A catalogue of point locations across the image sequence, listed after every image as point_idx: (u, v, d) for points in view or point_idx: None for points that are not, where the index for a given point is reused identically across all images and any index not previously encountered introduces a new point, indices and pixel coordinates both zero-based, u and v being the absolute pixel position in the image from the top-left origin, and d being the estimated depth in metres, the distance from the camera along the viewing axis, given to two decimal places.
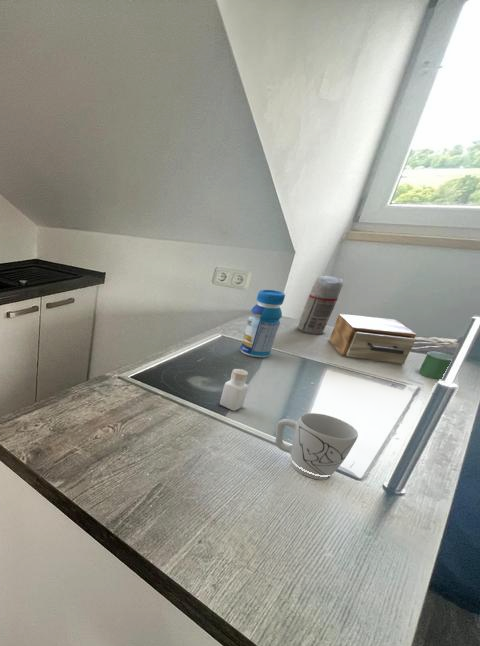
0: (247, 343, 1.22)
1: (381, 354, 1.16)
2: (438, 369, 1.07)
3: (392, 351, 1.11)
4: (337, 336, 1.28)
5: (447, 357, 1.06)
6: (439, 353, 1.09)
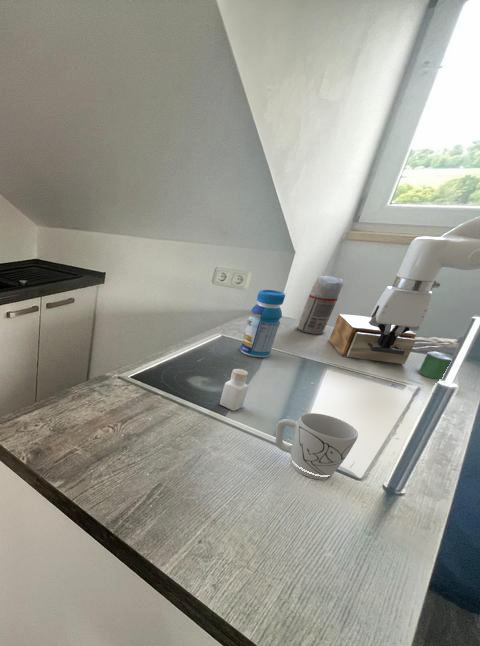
0: (247, 343, 1.22)
1: (382, 354, 1.16)
2: (438, 369, 1.07)
3: (393, 352, 1.11)
4: (337, 336, 1.28)
5: (447, 357, 1.06)
6: (439, 353, 1.09)
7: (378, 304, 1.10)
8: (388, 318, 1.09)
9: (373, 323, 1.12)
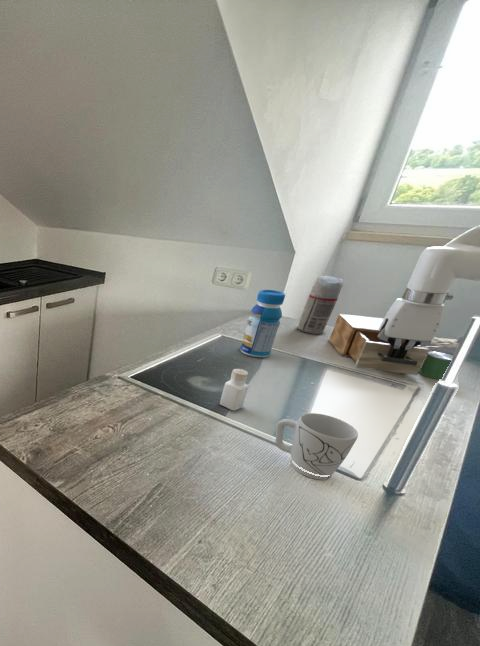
0: (247, 343, 1.22)
1: (392, 365, 1.09)
2: (438, 369, 1.07)
3: (404, 362, 1.04)
4: (337, 336, 1.28)
5: (447, 357, 1.06)
6: (439, 353, 1.09)
7: (387, 317, 1.05)
8: (398, 332, 1.03)
9: (382, 337, 1.06)
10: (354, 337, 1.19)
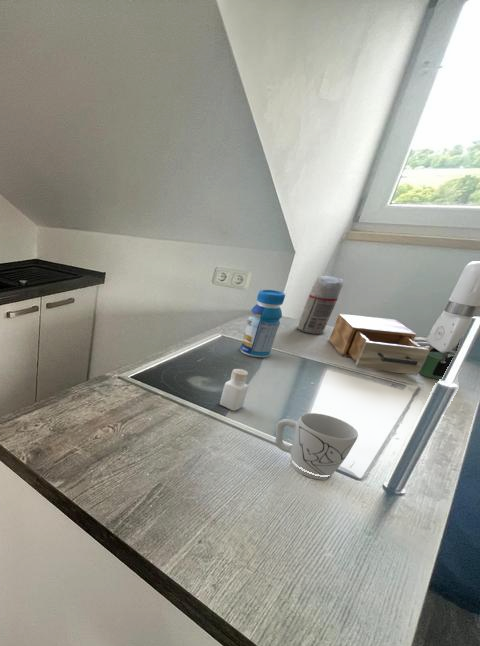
0: (247, 343, 1.22)
1: (392, 365, 1.09)
2: None
3: (405, 362, 1.04)
4: (337, 336, 1.28)
5: None
6: (439, 353, 1.09)
7: None
8: None
9: None
10: (354, 337, 1.19)
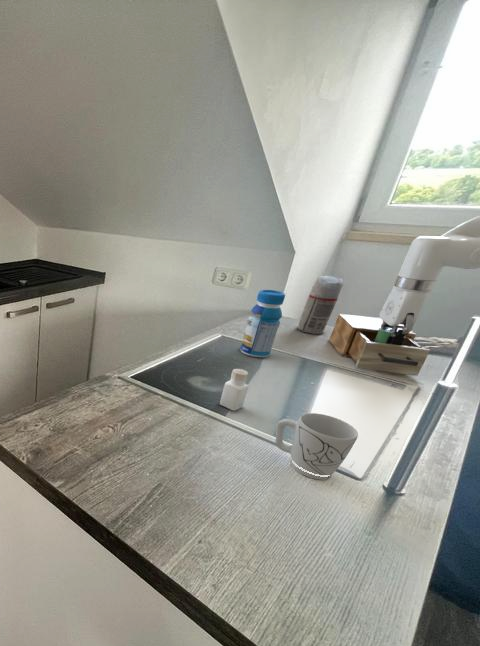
0: (247, 343, 1.22)
1: (393, 365, 1.09)
2: None
3: (405, 363, 1.04)
4: (337, 336, 1.28)
5: None
6: (390, 328, 1.12)
7: (410, 311, 1.04)
8: None
9: None
10: (354, 337, 1.19)
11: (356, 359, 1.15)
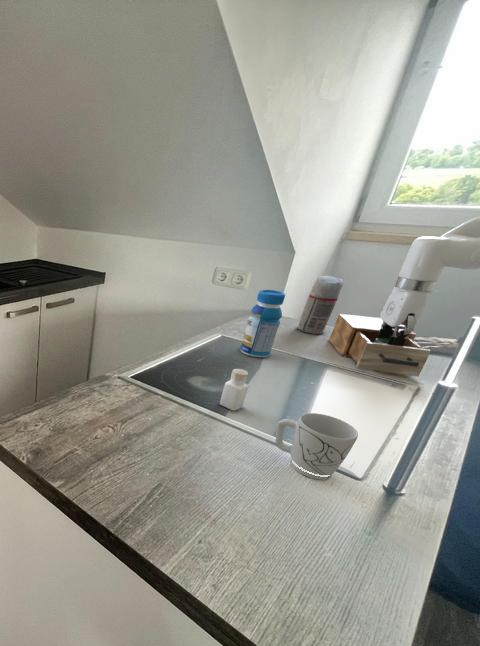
0: (247, 343, 1.22)
1: (394, 366, 1.08)
2: None
3: (406, 363, 1.03)
4: (337, 336, 1.28)
5: None
6: (386, 339, 1.13)
7: (411, 312, 1.03)
8: None
9: None
10: (355, 338, 1.18)
11: (357, 360, 1.15)
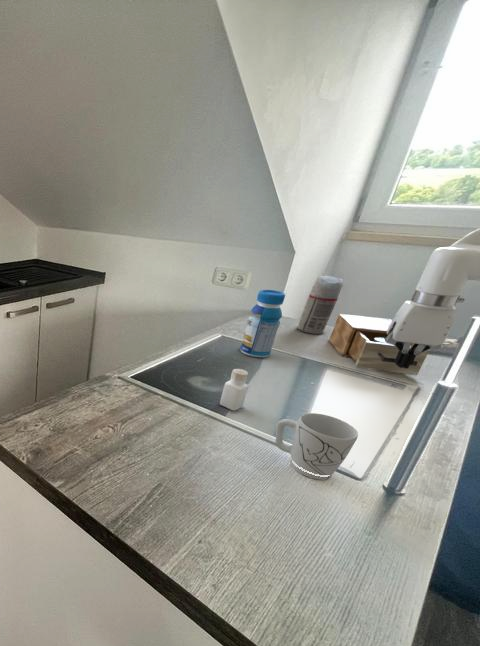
0: (247, 343, 1.22)
1: (392, 365, 1.09)
2: None
3: None
4: (337, 336, 1.28)
5: None
6: (385, 338, 1.14)
7: (395, 320, 1.01)
8: (407, 336, 0.99)
9: (390, 341, 1.02)
10: (354, 337, 1.19)
11: (356, 359, 1.15)
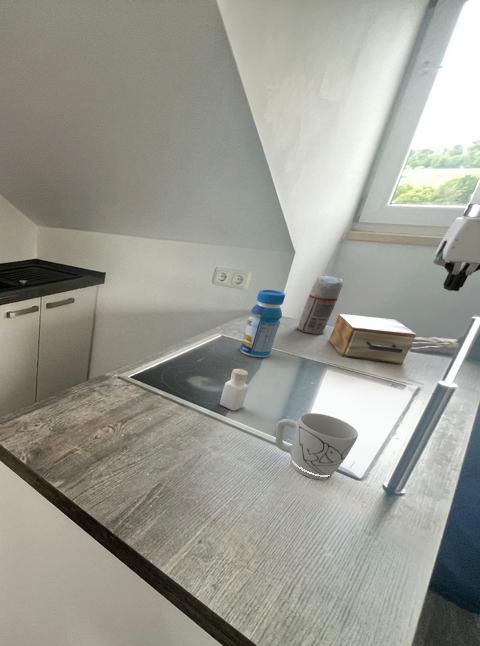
0: (247, 343, 1.22)
1: (380, 353, 1.17)
2: None
3: (391, 350, 1.12)
4: (337, 336, 1.28)
5: None
6: None
7: (445, 239, 0.95)
8: (458, 254, 0.94)
9: (439, 262, 0.97)
10: None
11: None
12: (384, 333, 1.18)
